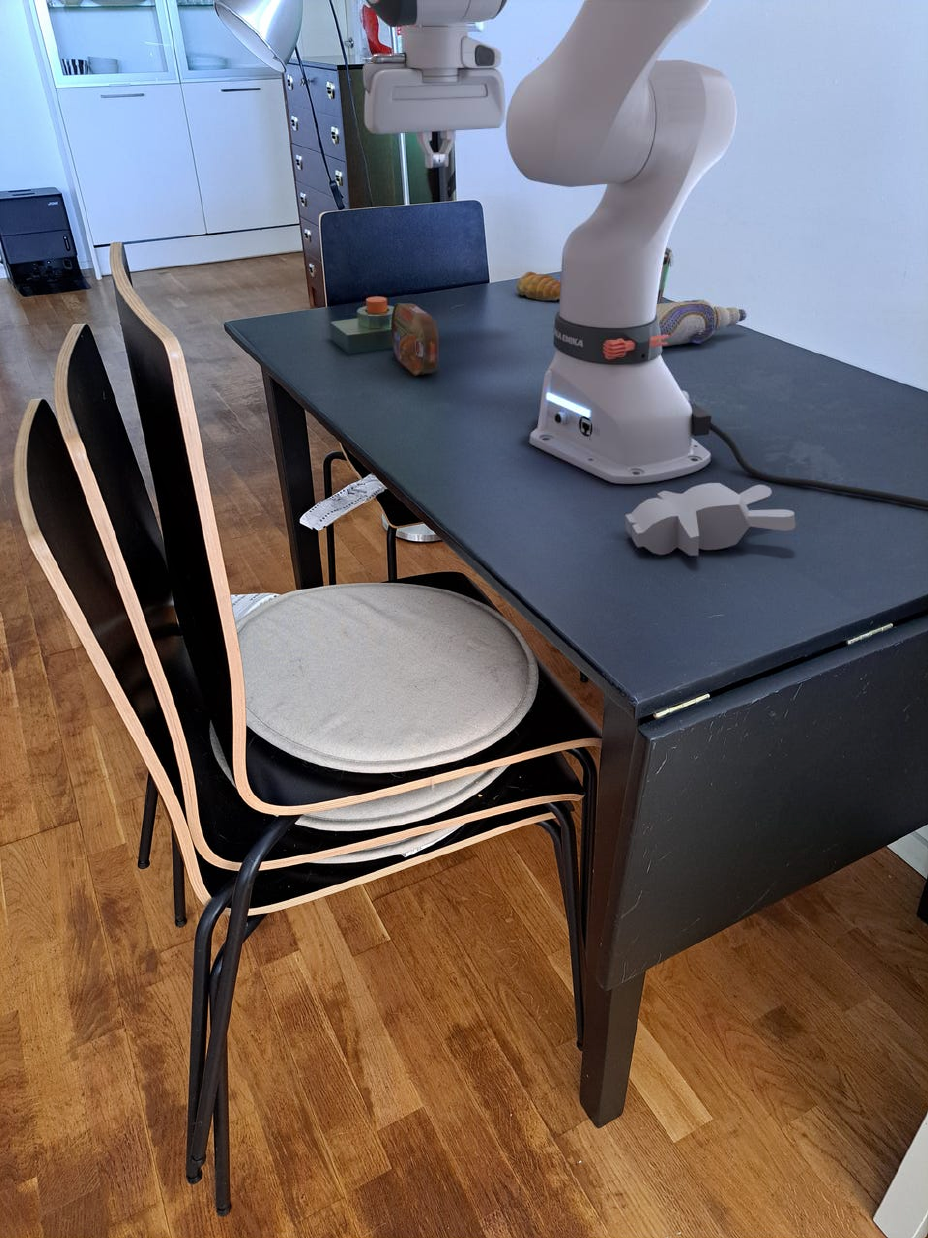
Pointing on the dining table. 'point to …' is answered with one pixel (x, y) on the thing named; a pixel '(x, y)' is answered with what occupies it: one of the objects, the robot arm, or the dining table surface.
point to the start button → (376, 305)
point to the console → (364, 331)
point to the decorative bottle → (694, 320)
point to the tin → (414, 338)
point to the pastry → (539, 286)
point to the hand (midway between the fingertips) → (436, 167)
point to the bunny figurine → (702, 518)
